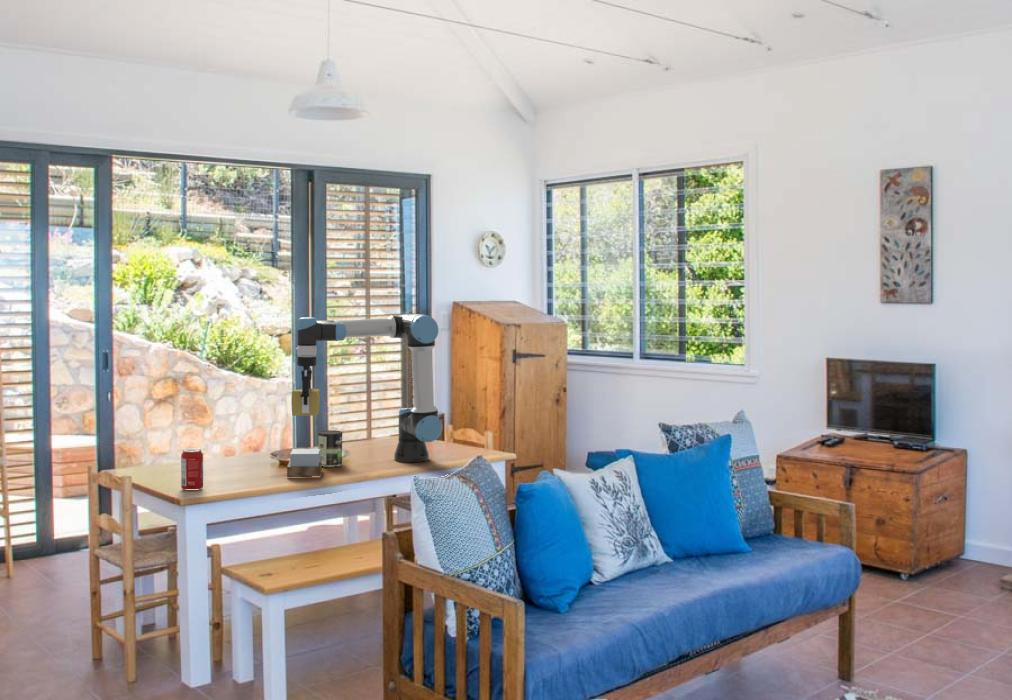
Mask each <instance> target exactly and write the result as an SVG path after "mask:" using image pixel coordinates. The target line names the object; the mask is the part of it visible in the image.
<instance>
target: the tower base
mask: <svg viewBox="0 0 1012 700" xmlns="http://www.w3.org/2000/svg"><path fill="white" fill-rule="evenodd" d="M322 469H323V467H322V461H320V462H319V466H290V460H289V461H288V463H287V466H286V478H287V477H312V476H322V472H321V471H323V470H322Z"/></svg>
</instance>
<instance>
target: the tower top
mask: <svg viewBox="0 0 1012 700" xmlns="http://www.w3.org/2000/svg"><path fill="white" fill-rule="evenodd" d="M289 454H290V455H289V457H290V458H289V459H290V460H289V461H290V466H319V462H320V449H318V448H292V450H291V451H290V453H289Z"/></svg>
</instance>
